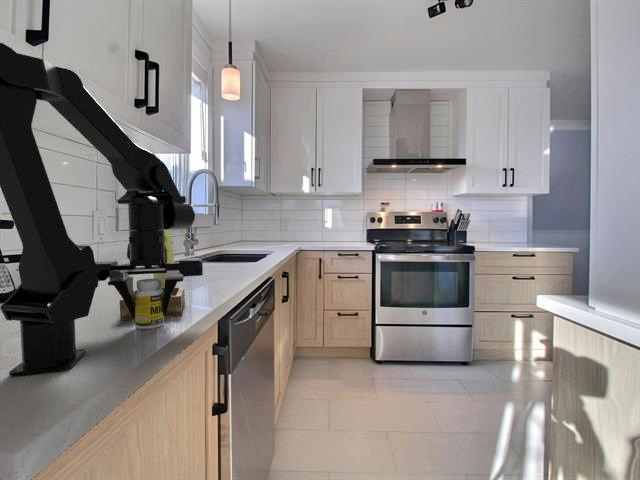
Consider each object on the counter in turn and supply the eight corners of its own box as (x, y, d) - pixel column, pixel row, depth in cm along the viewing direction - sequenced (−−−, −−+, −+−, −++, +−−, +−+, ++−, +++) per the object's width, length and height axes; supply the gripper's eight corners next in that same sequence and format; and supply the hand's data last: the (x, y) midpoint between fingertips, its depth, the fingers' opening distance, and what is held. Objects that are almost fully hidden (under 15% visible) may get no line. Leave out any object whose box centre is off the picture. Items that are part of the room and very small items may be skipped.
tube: (180, 301, 84) (178, 219, 83) (158, 305, 80) (155, 219, 79) (171, 297, 88) (169, 219, 87) (149, 301, 84) (147, 219, 84)
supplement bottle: (152, 330, 61) (151, 282, 61) (129, 329, 62) (127, 282, 62) (169, 322, 66) (168, 278, 66) (147, 321, 67) (146, 277, 67)
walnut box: (181, 315, 71) (181, 296, 71) (120, 320, 68) (119, 300, 67) (184, 303, 81) (184, 286, 81) (132, 307, 78) (131, 289, 78)
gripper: (202, 229, 74) (204, 302, 75) (100, 230, 68) (104, 309, 69) (201, 230, 63) (203, 315, 64) (81, 231, 58) (85, 325, 58)
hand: (149, 315), depth 64 cm, fingers closed on supplement bottle, 5 cm apart
